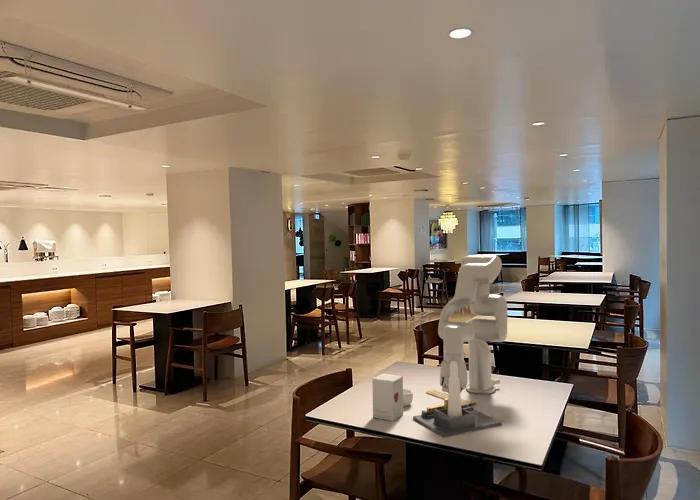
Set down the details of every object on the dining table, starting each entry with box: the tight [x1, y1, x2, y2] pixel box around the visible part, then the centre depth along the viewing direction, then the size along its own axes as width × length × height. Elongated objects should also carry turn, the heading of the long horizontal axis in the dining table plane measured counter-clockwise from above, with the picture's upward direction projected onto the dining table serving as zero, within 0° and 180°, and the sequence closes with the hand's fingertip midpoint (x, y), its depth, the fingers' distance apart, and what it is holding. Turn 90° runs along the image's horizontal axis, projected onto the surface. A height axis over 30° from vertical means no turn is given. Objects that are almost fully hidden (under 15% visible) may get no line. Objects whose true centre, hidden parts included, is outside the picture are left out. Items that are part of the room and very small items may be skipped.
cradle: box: [412, 404, 503, 438], centre depth 179 cm, size 25×20×5 cm
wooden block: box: [426, 398, 448, 415], centre depth 184 cm, size 10×2×5 cm, turn 114°
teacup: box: [403, 388, 414, 407], centre depth 200 cm, size 10×8×5 cm
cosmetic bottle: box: [447, 361, 462, 417], centre depth 175 cm, size 6×6×22 cm
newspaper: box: [425, 388, 477, 405], centre depth 206 cm, size 24×7×2 cm, turn 33°
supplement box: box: [371, 373, 404, 422], centre depth 186 cm, size 9×9×15 cm
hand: (454, 405), depth 187 cm, fingers closed
